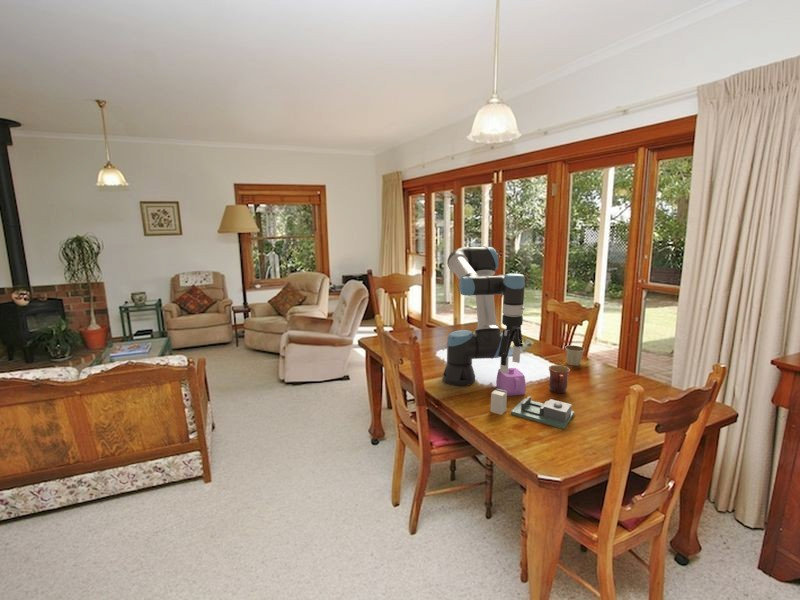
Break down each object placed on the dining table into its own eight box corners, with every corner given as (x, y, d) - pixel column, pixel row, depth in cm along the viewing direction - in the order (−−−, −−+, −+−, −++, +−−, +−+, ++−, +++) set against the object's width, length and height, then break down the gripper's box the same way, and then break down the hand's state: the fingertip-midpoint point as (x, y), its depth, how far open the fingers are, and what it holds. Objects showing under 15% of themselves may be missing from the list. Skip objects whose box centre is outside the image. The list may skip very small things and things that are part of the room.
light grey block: (490, 411, 163) (491, 392, 161) (495, 407, 167) (496, 388, 165) (501, 415, 160) (502, 395, 159) (506, 410, 164) (507, 391, 162)
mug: (545, 385, 187) (547, 364, 185) (566, 387, 185) (567, 365, 183) (549, 397, 175) (551, 374, 173) (571, 398, 174) (573, 375, 172)
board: (510, 414, 161) (511, 400, 160) (523, 401, 172) (524, 388, 171) (563, 429, 149) (565, 414, 148) (574, 414, 160) (575, 400, 159)
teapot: (491, 382, 191) (492, 362, 189) (513, 381, 192) (514, 360, 190) (506, 399, 174) (507, 376, 171) (530, 397, 175) (531, 375, 173)
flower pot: (566, 359, 220) (567, 344, 219) (585, 363, 215) (586, 347, 213) (561, 364, 213) (562, 348, 211) (580, 368, 208) (582, 352, 206)
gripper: (511, 322, 145) (508, 379, 149) (532, 309, 165) (529, 359, 169) (490, 320, 149) (488, 375, 153) (514, 307, 169) (511, 356, 173)
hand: (510, 367), depth 161 cm, fingers open, 13 cm apart
